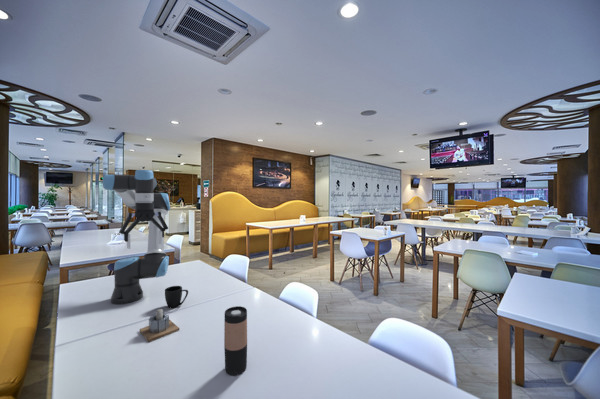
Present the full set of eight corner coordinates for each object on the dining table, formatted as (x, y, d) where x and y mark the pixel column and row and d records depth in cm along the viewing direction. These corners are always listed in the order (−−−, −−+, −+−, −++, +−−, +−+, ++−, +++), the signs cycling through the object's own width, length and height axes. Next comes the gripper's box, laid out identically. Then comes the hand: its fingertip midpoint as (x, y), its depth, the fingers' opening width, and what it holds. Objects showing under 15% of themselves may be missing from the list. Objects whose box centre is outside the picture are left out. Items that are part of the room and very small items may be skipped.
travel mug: (226, 361, 89) (226, 306, 89) (248, 360, 90) (248, 305, 90) (222, 377, 82) (221, 317, 81) (245, 375, 82) (245, 316, 82)
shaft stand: (139, 331, 109) (139, 310, 109) (168, 320, 118) (168, 302, 118) (148, 342, 101) (148, 320, 101) (179, 330, 110) (179, 310, 110)
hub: (147, 329, 109) (146, 317, 109) (164, 322, 114) (164, 311, 114) (152, 335, 104) (152, 323, 104) (170, 328, 109) (170, 317, 109)
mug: (183, 310, 128) (182, 292, 128) (161, 309, 130) (161, 291, 130) (191, 303, 137) (191, 286, 136) (171, 302, 138) (171, 285, 138)
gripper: (115, 203, 108) (115, 251, 109) (174, 201, 127) (175, 243, 127) (110, 202, 113) (111, 249, 114) (169, 201, 132) (169, 241, 132)
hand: (145, 246), depth 121 cm, fingers open, 13 cm apart
